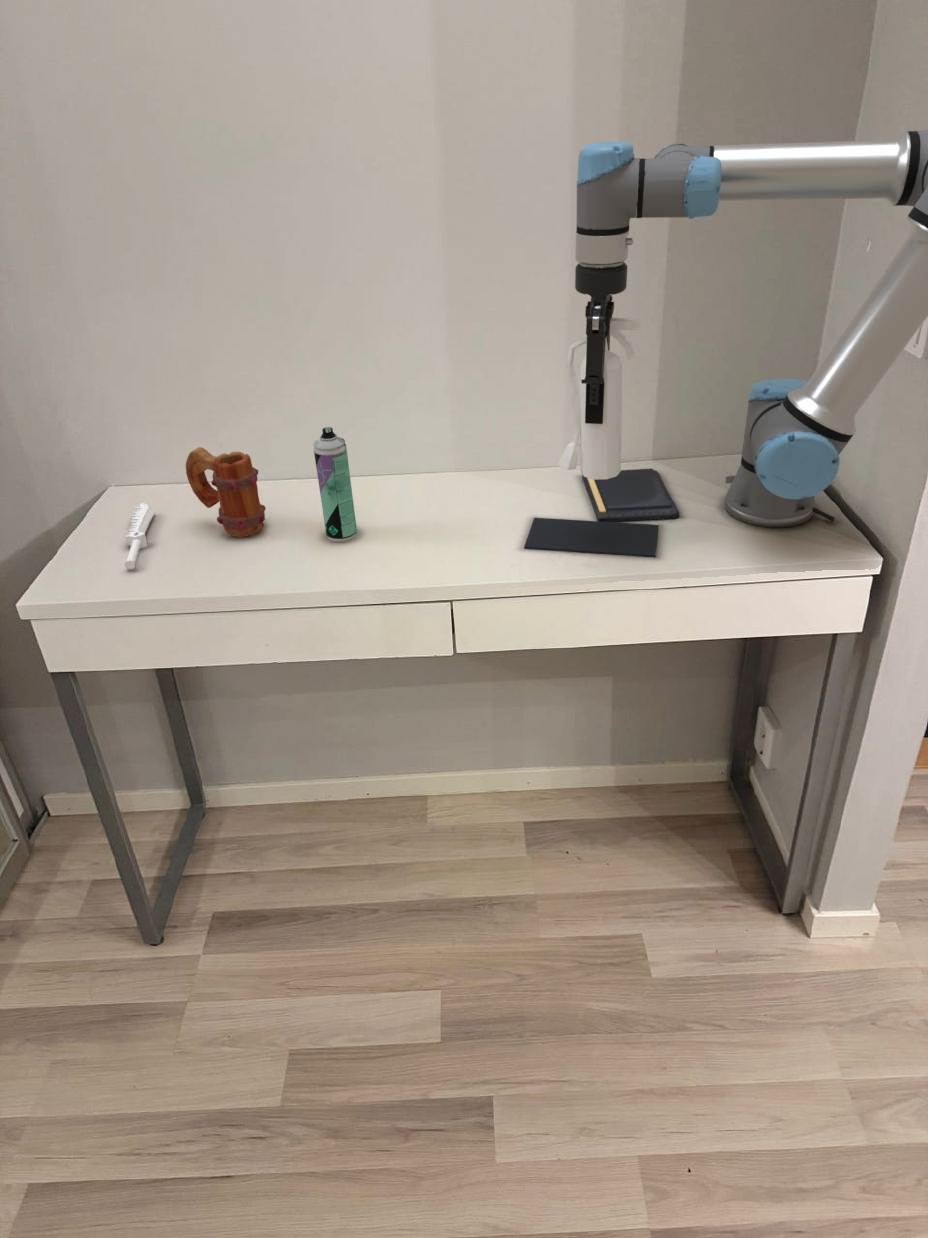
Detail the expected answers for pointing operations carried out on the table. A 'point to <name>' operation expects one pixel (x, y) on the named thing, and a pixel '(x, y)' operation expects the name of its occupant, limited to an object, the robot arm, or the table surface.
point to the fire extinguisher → (603, 439)
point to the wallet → (631, 497)
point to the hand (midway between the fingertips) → (596, 414)
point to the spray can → (335, 486)
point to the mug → (228, 489)
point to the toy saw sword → (138, 532)
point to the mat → (593, 537)
